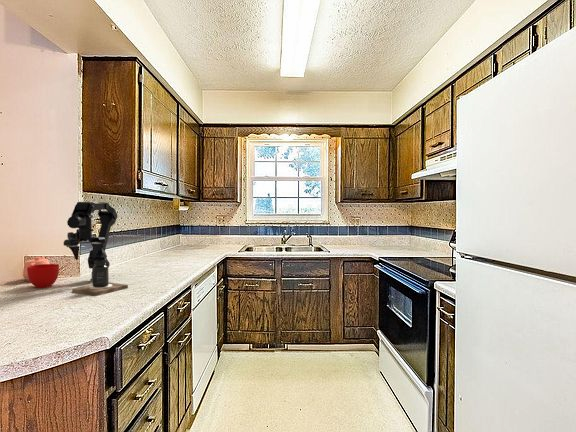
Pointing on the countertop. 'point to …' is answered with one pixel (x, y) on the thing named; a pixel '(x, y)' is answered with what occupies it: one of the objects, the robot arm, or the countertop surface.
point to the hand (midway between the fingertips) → (85, 258)
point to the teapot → (33, 262)
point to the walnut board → (99, 289)
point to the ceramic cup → (43, 274)
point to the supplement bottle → (100, 274)
